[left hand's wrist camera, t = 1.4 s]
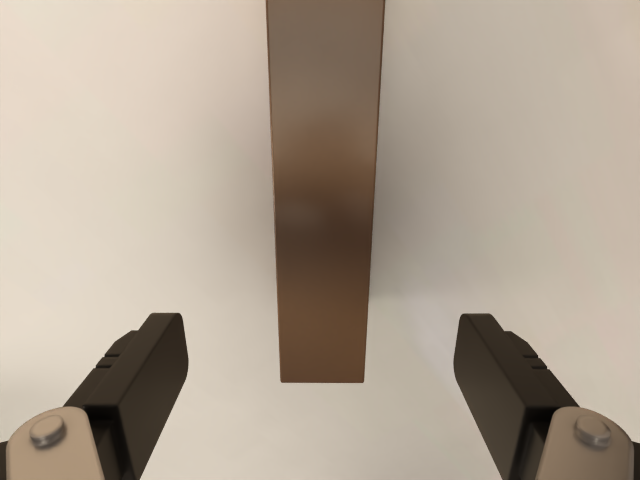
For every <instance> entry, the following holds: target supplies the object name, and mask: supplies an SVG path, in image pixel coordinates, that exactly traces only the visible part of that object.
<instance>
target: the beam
mask: <svg viewBox="0 0 640 480" xmlns="http://www.w3.org/2000/svg"><path fill="white" fill-rule="evenodd" d="M384 14H385V0H266V20H267V46H268V71H269V97H270V123H271V149H272V175H273V200H274V226H275V252H276V278H277V304H278V330H279V355H280V381H281V382H282V383H363V382H364V372H365V354H366V337H367V319H368V301H369V283H370V265H371V247H372V229H373V211H374V193H375V175H376V157H377V139H378V121H379V103H380V86H381V68H382V50H383V32H384Z"/></svg>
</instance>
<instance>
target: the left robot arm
mask: <svg viewBox="0 0 640 480" xmlns="http://www.w3.org/2000/svg"><path fill="white" fill-rule="evenodd" d="M187 372H188V352H187V346H186V339H185V332H184V325H183V319H182V316H181V314H180V313H152V314H150V315H149V317H148V318H147V319H146V321H145V322H144V323H143V325H142V326H141V327H140V329H139V330H138V331H130V332H129V333H127V334H126V335H124V336H123V337H121V338H120V339H118V340H117V341H115V342H114V344H113V345H112V346H111V347H110V349H109V350H108V351H107V352H106V354H105V357H102V359H101V360H100V361H99V362H98V364H97V365H96V368H93V370H92V371H91V372H90V373H89V375H88V376H87V377H86V378H85V380H84V381H83V382H82V383H81V385H80V386H79V387H78V388H77V390H76V391H75V392H74V393H73V395H72V396H71V397H70V398H69V399H68V401H67V402H66V403H65V404H64V406H63V407H60V408H55V409H52V410H49V411H46V412H43V413H41V414H39V415H37V416H35V417H33V418H32V419H30V420H29V421H27V422H26V423H24V424H23V425H22V426H20V427H19V428H18V429H17V430H16V431H15V432H14V434H13V435H12V436H11V438H10V439H9V441H5V442H1V443H0V480H140V478H141V476H142V473H143V471H144V469H145V467H146V465H147V463H148V460H149V458H150V456H151V454H152V452H153V449H154V447H155V445H156V443H157V441H158V439H159V436H160V434H161V432H162V430H163V428H164V426H165V423H166V421H167V419H168V417H169V415H170V413H171V410H172V408H173V406H174V404H175V402H176V399H177V397H178V395H179V393H180V391H181V389H182V386H183V384H184V382H185V380H186V377H187ZM454 373H455V377H456V380H457V383H458V385H459V387H460V389H461V391H462V394H463V396H464V398H465V400H466V402H467V404H468V406H469V409H470V411H471V413H472V415H473V417H474V419H475V421H476V424H477V426H478V428H479V430H480V432H481V434H482V437H483V439H484V441H485V443H486V445H487V447H488V449H489V452H490V454H491V456H492V458H493V460H494V462H495V464H496V467H497V469H498V471H499V473H500V475H501V477H502V479H503V480H640V443H636V442H633V441H631V439H630V438H629V436H628V435H627V434H626V432H625V431H624V430H623V429H622V428H621V427H620V426H618V425H617V424H616V423H614V422H613V421H611V420H610V419H608V418H607V417H605V416H603V415H601V414H599V413H597V412H594V411H591V410H588V409H585V408H580V407H579V405H578V404H577V403H576V402H575V400H574V399H573V398H572V397H571V395H570V394H569V393H568V392H567V391H566V389H565V388H564V387H563V386H562V384H561V383H560V382H559V381H558V379H557V378H556V377H555V376H554V375H553V373H552V372H551V371H550V370H549V369H547V366H546V365H545V363H544V362H543V361H542V360H541V359H540V358H538V355H537V354H536V352H535V351H534V350H533V349H532V348H531V346H530V345H529V344H528V343H527V342H526V341H524V340H523V339H522V338H520V337H519V336H517V335H516V334H514V333H513V332H511V331H504V330H503V329H502V328H501V326H500V325H499V324H498V322H497V321H496V320H495V318H494V317H493V316H492V315H491V314H462V315H461V317H460V320H459V326H458V333H457V340H456V347H455V353H454Z"/></svg>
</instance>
